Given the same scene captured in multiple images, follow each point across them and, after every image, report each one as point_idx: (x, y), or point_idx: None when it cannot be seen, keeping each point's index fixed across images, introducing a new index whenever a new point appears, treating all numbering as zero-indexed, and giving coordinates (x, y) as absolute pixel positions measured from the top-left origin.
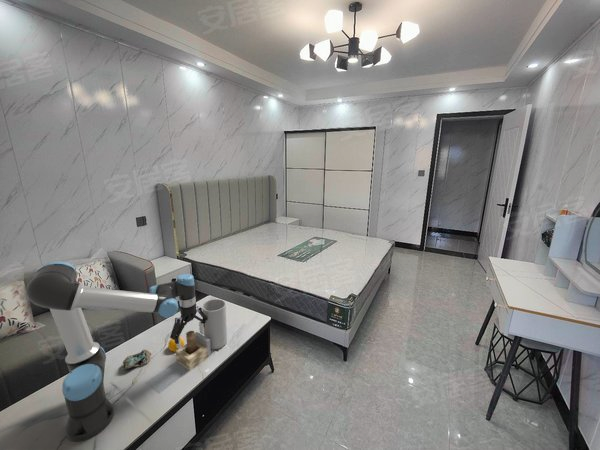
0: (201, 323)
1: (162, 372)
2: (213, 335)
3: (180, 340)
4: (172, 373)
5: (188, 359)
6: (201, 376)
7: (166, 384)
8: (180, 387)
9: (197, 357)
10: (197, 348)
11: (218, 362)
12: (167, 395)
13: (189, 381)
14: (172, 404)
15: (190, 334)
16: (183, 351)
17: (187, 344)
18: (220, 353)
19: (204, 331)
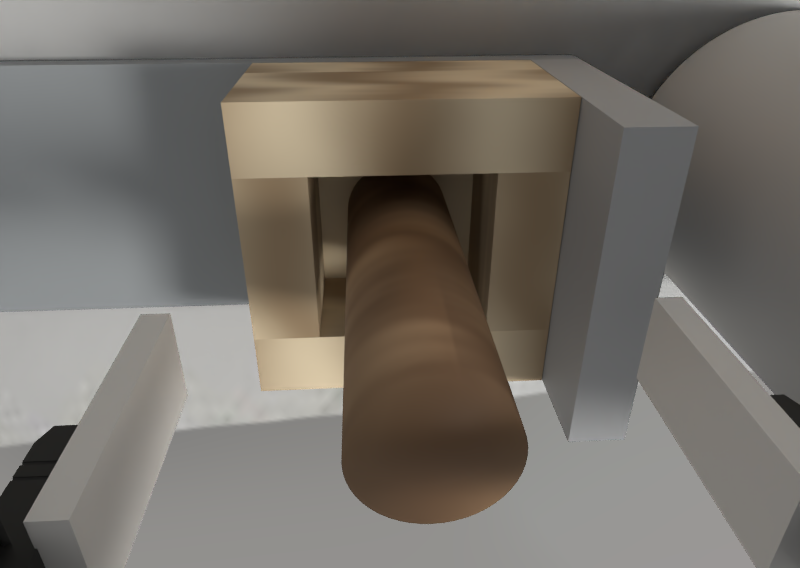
0: (785, 550)
1: (40, 87)
2: (741, 356)
3: (131, 542)
4: (129, 197)
5: (260, 382)
6: (322, 399)
7: (26, 276)
8: None
9: None
10: (482, 250)
11: (519, 387)
12: (11, 353)
13: (221, 369)
14: (19, 443)
15: (408, 491)
16: (296, 215)
17: (345, 315)
18: None
19: (770, 206)
